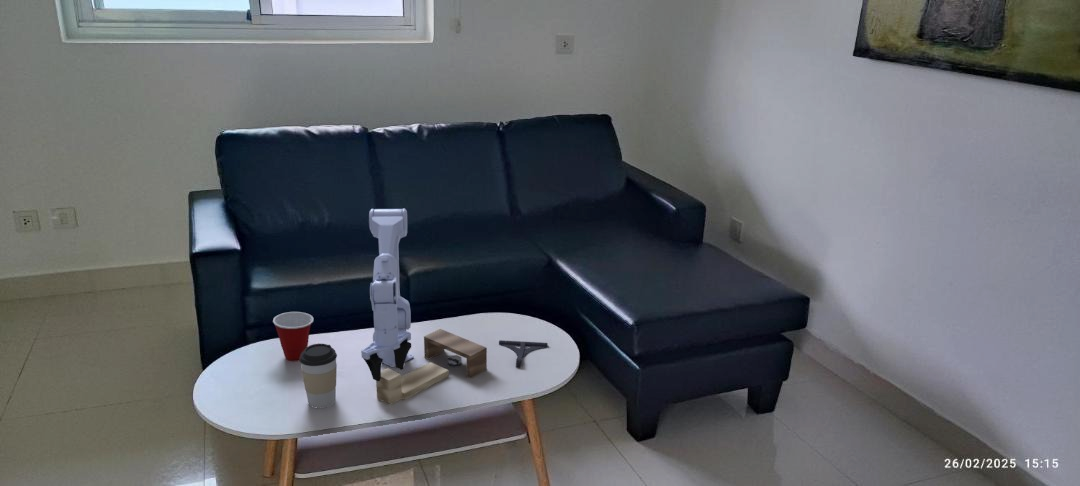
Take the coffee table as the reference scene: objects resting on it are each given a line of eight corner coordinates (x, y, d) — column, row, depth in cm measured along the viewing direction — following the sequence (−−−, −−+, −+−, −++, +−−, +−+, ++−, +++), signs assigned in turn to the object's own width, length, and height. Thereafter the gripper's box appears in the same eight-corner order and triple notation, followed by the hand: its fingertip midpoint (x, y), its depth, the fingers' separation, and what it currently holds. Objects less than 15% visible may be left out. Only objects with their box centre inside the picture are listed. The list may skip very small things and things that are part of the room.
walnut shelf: (424, 357, 212) (423, 336, 209) (440, 349, 216) (440, 328, 214) (470, 378, 201) (470, 356, 199) (486, 369, 206) (486, 347, 204)
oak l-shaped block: (374, 396, 191) (373, 372, 189) (430, 367, 206) (429, 345, 204) (392, 406, 187) (391, 381, 185) (448, 375, 202) (448, 353, 200)
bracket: (492, 368, 208) (492, 359, 207) (499, 344, 222) (499, 335, 221) (543, 371, 207) (543, 363, 206) (547, 347, 221) (547, 338, 220)
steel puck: (444, 364, 208) (444, 358, 208) (454, 359, 211) (454, 353, 211) (454, 369, 206) (454, 363, 206) (464, 363, 209) (464, 358, 209)
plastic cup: (319, 361, 208) (316, 322, 204) (279, 368, 204) (275, 329, 200) (313, 345, 217) (310, 307, 213) (274, 351, 213) (270, 313, 209)
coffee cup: (305, 413, 183) (300, 359, 178) (301, 395, 191) (296, 343, 186) (342, 406, 186) (339, 353, 181) (337, 389, 194) (333, 337, 189)
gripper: (373, 340, 176) (376, 390, 181) (418, 320, 187) (420, 368, 191) (354, 331, 180) (357, 380, 185) (399, 313, 191) (401, 359, 196)
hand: (388, 373), depth 188 cm, fingers open, 7 cm apart
